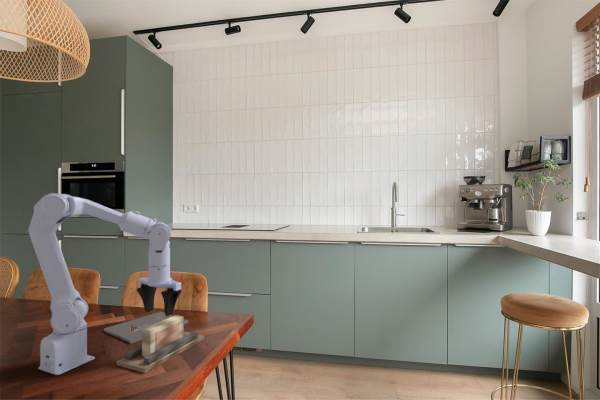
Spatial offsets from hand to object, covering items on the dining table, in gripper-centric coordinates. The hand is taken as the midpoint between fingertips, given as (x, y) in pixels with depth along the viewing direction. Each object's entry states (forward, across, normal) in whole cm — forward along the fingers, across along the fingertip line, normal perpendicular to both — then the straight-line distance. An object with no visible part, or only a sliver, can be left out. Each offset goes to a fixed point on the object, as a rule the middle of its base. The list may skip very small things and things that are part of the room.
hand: (159, 313), depth 95 cm
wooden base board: (+10, -2, 0) cm, 11 cm away
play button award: (+11, +17, -11) cm, 23 cm away
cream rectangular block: (+9, -2, 0) cm, 10 cm away
